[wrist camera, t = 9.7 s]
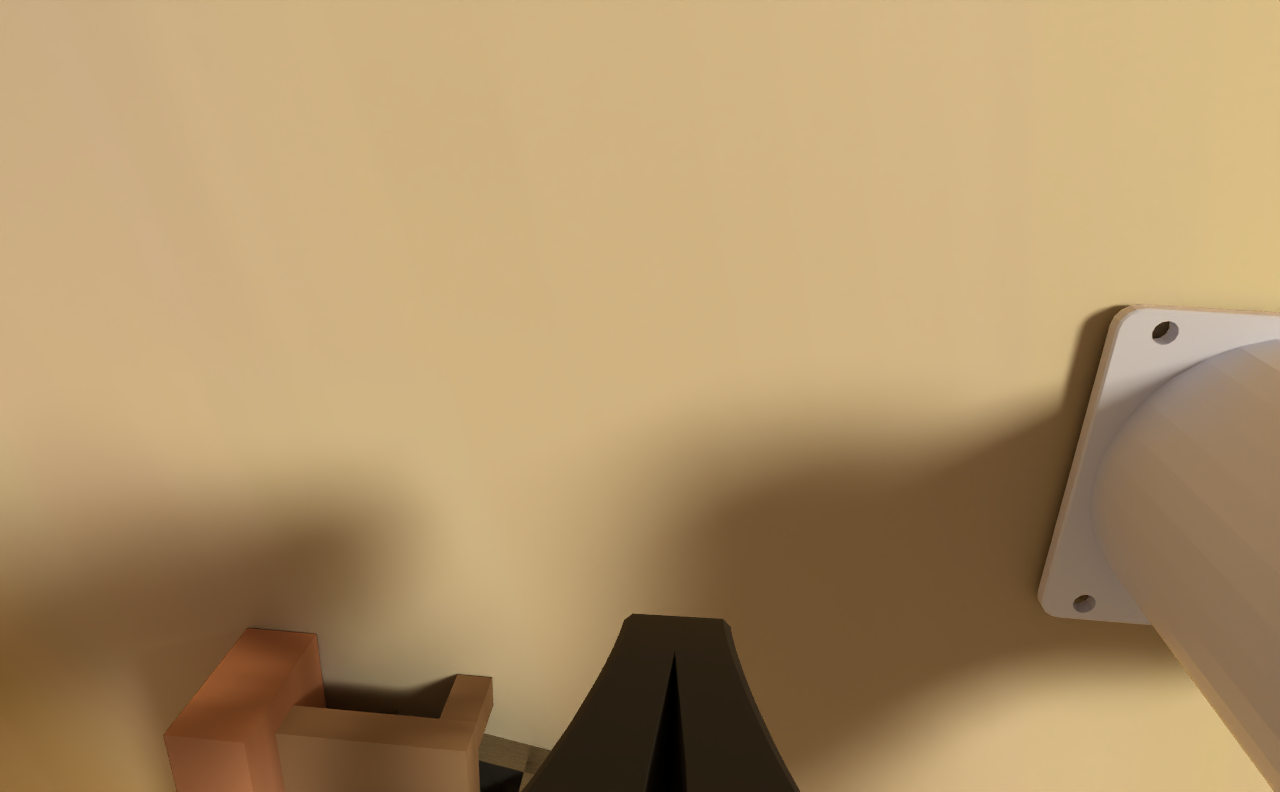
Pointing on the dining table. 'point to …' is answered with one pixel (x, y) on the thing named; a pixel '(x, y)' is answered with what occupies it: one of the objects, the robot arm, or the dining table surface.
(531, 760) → the open storage bin
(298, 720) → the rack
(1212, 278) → the dining table surface
